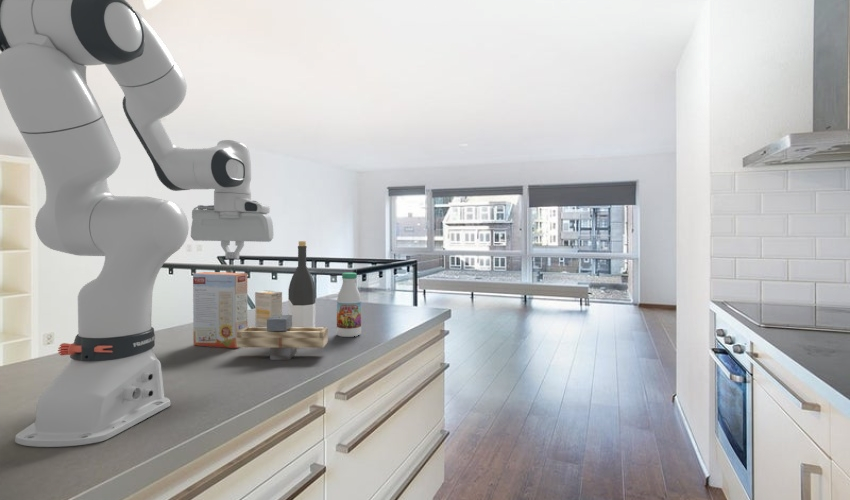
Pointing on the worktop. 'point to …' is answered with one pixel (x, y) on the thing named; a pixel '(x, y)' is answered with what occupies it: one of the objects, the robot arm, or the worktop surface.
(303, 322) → the wine bottle
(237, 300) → the cracker box
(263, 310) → the supplement box
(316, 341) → the beam
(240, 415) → the worktop surface
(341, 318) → the milk bottle
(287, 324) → the block
